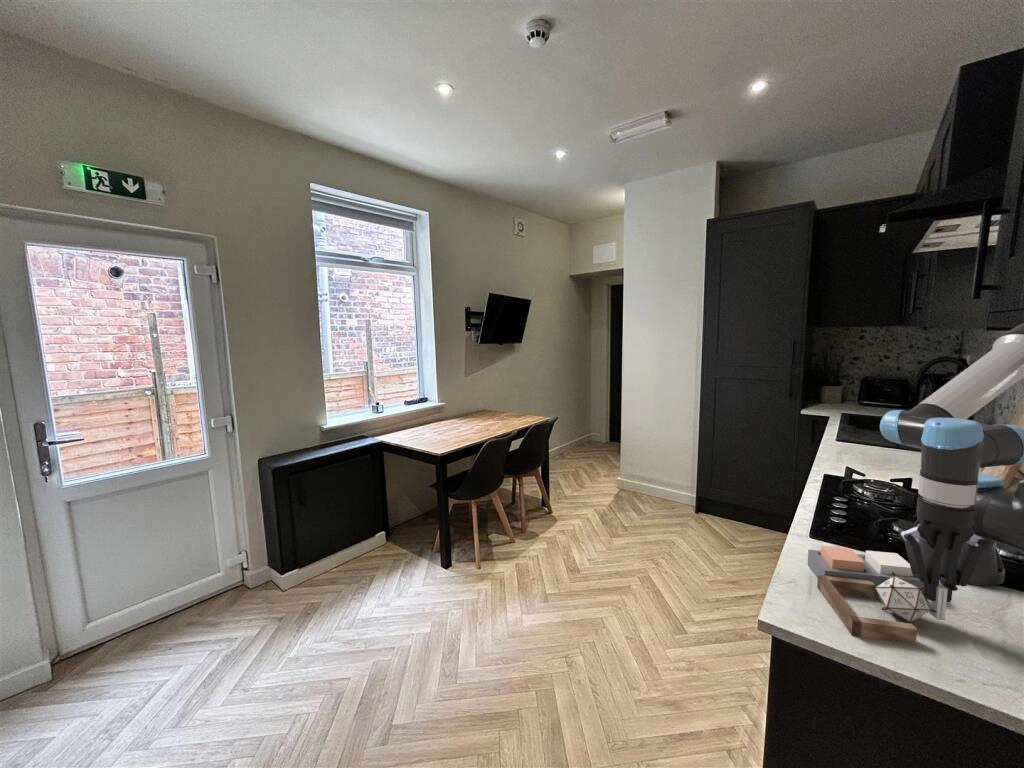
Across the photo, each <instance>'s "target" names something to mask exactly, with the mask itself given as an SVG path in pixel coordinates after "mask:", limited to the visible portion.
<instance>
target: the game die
mask: <svg viewBox="0 0 1024 768" xmlns="http://www.w3.org/2000/svg"><path fill="white" fill-rule="evenodd" d="M892 575H893V576H892V577H891V578H889V579H887V580H886V581H884V582H883V583H881V584H879V585H878V586H876V587H875V586H873V585H870V586H871V588H875V589H876V591H877V593H876V594H877V595H878V597H879V600H880V601H881V603H882V605H883V606H882V607H881V611H889V612H891V613H893V614H894V615H897V616H898V617H900V618H901V619H903V620H905V621H907V623H910V624H913V623H912V622H914V621H916V620H917V619H919V618H921V617H923V616H924V615H926V614H928V613H929V611H932V612H934V613H937V612H936V611H935V610H932V609H931V608H930V606H929V604H928V602H927V599H926V598H925V597H924V595H923V593H922V591H921V589H924V588H923V587H924V586H919V587H917V586H915V585H913V584H911V583H909V582H907V581H905V580H903V579H901V578H898V577H896V576H895V575H896V574H895V573H894V572H893V571H892Z"/></svg>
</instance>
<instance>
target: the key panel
mask: <svg viewBox="0 0 1024 768" xmlns="http://www.w3.org/2000/svg"><path fill="white" fill-rule="evenodd" d="M807 552H808V553H807V566H808V567H809V569H810V570H811V571H812V573H813V574H814V575H815V577H816V578H817V579H818V575H822V576H832V577H841V578H850V579H859V580H869V581H872V582H873V583H874V584H875V587H876V586H878V585H879V584H881V583H883V582H884V581H886V580H887V579H889V578H891V577H892V576H893V575H886V574H879V573H878V572H877V571H876V570H875V569H874V568H873V567H872V566H871V565H870V564H869V563H868V562H867V561H866V560H865V555H866V554H861V553H860V554H859V553H856V554H857V555H858V556H859V557H860V558H861V559H862V560H863V561H864V562H865V563H864V572H857V571H848V570H838V569H831V568H830V567H829V566H828V565H827V564H826V562H825V561H824V560H823V559H822V558H821V556H820V555H821V550H816V549H815V550H814V549H808V551H807ZM895 576H896V575H895ZM896 577H898V578H901V579H903V580H905V581H907V582H909V583H911V584H913V585H915V586H917V587H919V586H924V583H923V582H921V581H920V580H919V579H918V578H916V577H915V576H914V577H906V576H896ZM923 588H924V587H923ZM923 590H924V589H921V591H922V593H923ZM875 594H878V593H877V591H876V589H875ZM923 595H924V594H923ZM924 597H925V596H924ZM925 599H926V600H927V598H926V597H925Z"/></svg>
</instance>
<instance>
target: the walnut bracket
mask: <svg viewBox="0 0 1024 768" xmlns="http://www.w3.org/2000/svg"><path fill="white" fill-rule="evenodd" d="M816 583H817V589H818V590H819V592H820V593H821V595H822V596H823V597H824V599H825V600H826V601H827V604H828V605H829V606H830V607H831V608H832V610H833V611H834V613H835V614H836V616H837V617H838V619H839V620H840V621H841V623H842V624H843V626H844V627H845V628H846V631H848V632H849V634H850V635H851V636H855V637H863V638H869V639H876V640H884V641H890V642H897V643H898V642H899V643H906V644H913V645H917V639H918V637H917V636H918V629H917V627H916V626H915V625H914V624H913V623H912V624H910V623H909V622H901V621H896V620H895V621H894V620H884V619H878V618H870V617H861V616H858V615H857V614H856V613H855V611H854V610H853V608H851V606H850V605H849V604H848V602H847V601H846V600H845V598H844V597H843V596H842V595H849V596H856V597H865V598H866V597H867V598H873V599H874V598H875V594H876V593H875V588H871V586H870V585H873V586H875V584H874V583H873V582H872V581H869V580H859V579H850V578H841V577H832V576H822V575H818V578H817V582H816Z"/></svg>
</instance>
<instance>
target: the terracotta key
mask: <svg viewBox="0 0 1024 768" xmlns="http://www.w3.org/2000/svg"><path fill="white" fill-rule="evenodd" d="M820 551H821V555H820V556H821V558H822V559H823V560H824V561H825V562H826V564H827V565H828V566H829V567H830V568H831V569H838V570H848V571H857V572H864V563H865V562H864V561H863V560H862V559H861V558H860V557H859V556H858V555H857V554H858V553H856V552H855V551H854V550H853V549H852V548H850V547H840V546H839V547H838V546H829V545H828V546H827V545H820Z"/></svg>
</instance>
